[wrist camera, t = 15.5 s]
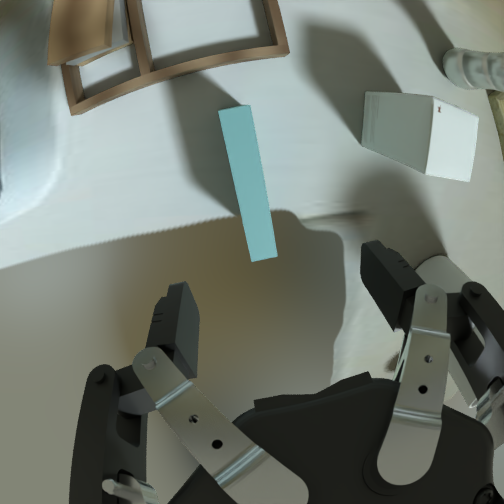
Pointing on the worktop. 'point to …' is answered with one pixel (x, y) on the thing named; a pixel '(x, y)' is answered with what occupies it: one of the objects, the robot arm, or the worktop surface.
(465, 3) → the worktop surface
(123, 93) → the tray
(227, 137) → the teal block
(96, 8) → the oak offcut top
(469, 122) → the supplement box
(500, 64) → the plastic bottle
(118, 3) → the grey flat panel
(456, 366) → the cylinder vase
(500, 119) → the decorative tile
